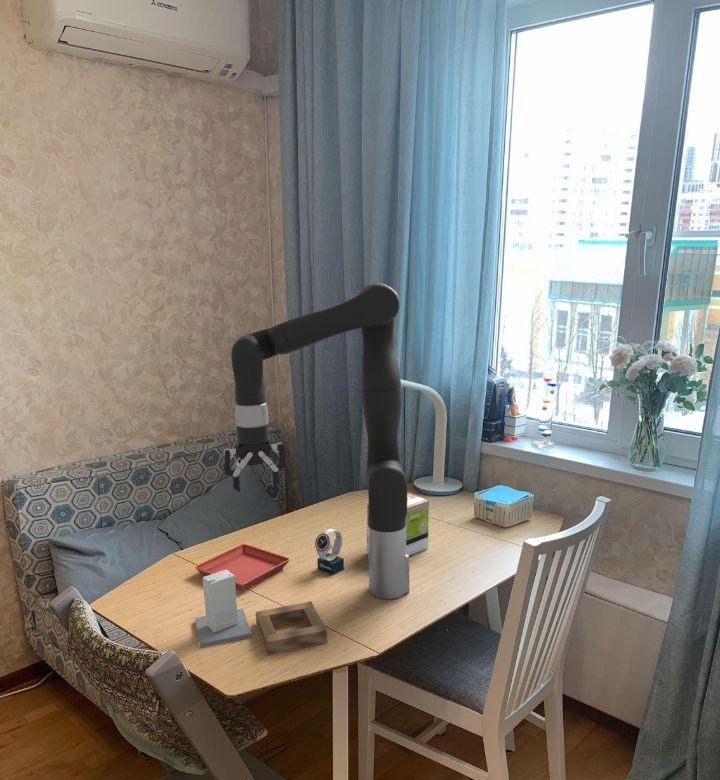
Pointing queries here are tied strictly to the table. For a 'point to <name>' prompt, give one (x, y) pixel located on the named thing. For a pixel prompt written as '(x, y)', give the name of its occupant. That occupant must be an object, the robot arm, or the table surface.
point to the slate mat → (222, 631)
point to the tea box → (414, 524)
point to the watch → (327, 560)
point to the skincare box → (220, 600)
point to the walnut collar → (294, 638)
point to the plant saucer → (245, 565)
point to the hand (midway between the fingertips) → (255, 488)
